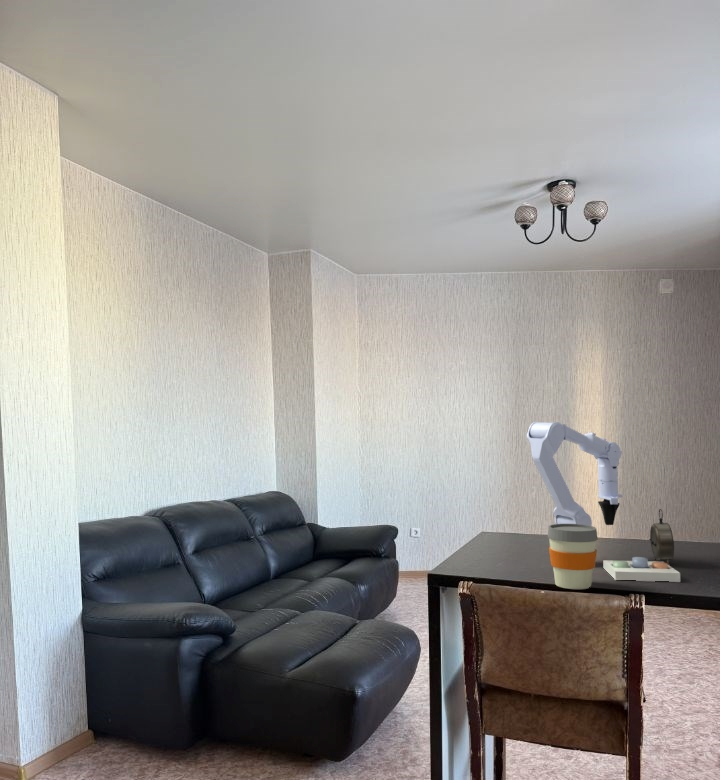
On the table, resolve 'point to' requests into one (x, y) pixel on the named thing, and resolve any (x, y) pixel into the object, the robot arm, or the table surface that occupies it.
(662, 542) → the alarm clock
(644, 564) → the slate button
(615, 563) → the sage button
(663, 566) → the terracotta button
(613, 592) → the table surface
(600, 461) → the robot arm
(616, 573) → the panel
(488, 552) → the table surface
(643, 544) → the table surface
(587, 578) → the reusable coffee cup
